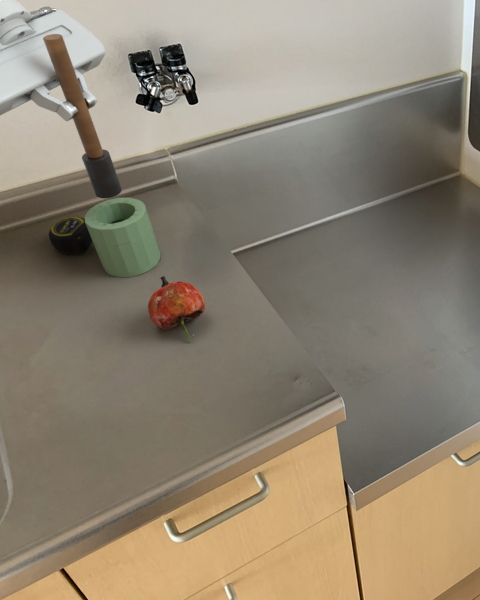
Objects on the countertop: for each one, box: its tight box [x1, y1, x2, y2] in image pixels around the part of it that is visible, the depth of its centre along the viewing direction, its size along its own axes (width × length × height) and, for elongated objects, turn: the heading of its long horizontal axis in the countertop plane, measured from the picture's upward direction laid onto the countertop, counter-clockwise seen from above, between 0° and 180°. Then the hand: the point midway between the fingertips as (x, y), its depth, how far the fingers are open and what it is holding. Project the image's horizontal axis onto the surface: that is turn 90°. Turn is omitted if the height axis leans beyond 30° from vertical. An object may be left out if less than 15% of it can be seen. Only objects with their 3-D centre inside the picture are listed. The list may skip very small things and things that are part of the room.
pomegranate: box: [147, 275, 206, 343], centre depth 84 cm, size 7×7×10 cm
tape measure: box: [48, 216, 93, 255], centre depth 99 cm, size 7×7×4 cm
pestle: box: [43, 34, 123, 199], centre depth 82 cm, size 4×4×22 cm
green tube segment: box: [84, 197, 161, 278], centre depth 95 cm, size 9×9×9 cm
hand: (82, 111), depth 81 cm, fingers closed on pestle, 2 cm apart
